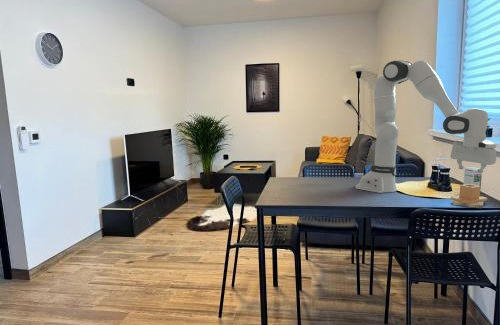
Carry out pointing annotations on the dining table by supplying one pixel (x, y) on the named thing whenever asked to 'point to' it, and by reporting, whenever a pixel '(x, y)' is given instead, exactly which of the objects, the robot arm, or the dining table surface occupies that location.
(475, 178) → the syrup box
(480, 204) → the post base
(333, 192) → the dining table surface
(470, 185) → the flange plate
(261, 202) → the dining table surface
